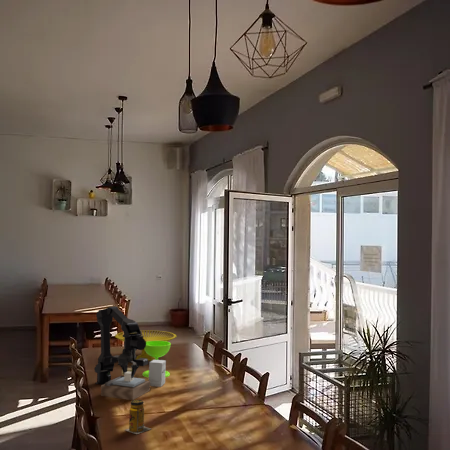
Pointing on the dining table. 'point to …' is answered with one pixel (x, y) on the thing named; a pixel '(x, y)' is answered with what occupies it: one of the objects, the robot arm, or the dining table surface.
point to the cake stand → (144, 354)
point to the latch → (127, 370)
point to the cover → (128, 380)
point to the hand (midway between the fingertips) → (128, 377)
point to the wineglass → (157, 352)
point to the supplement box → (157, 372)
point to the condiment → (137, 417)
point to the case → (124, 390)
